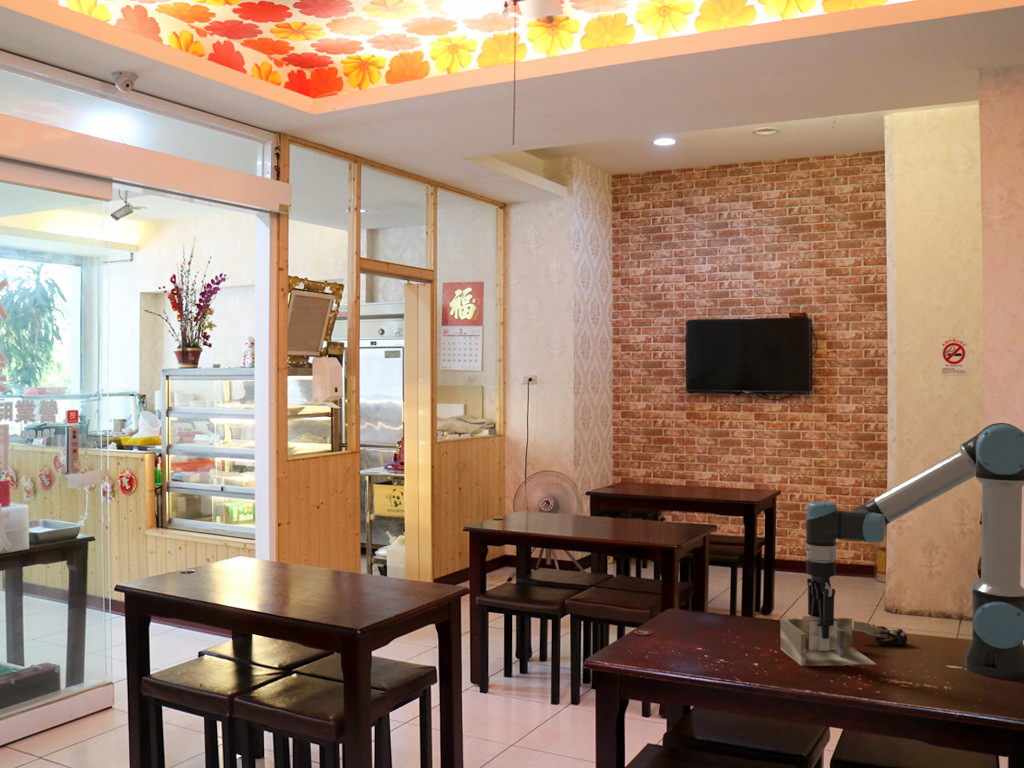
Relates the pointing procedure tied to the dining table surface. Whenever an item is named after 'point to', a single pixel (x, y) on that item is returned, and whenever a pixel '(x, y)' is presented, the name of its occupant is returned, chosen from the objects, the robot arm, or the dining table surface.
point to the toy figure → (881, 633)
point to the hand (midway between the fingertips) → (820, 647)
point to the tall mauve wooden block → (813, 630)
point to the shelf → (796, 649)
